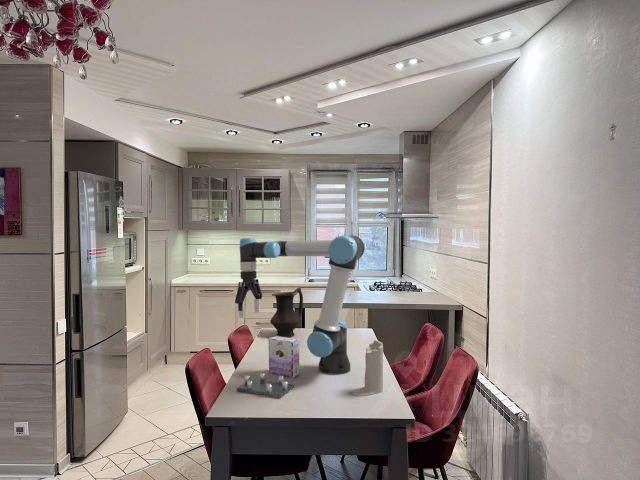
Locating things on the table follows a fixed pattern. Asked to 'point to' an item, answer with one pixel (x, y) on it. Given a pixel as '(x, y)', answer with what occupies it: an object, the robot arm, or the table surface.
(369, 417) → the table surface
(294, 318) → the jug
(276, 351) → the candy box
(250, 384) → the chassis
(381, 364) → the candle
